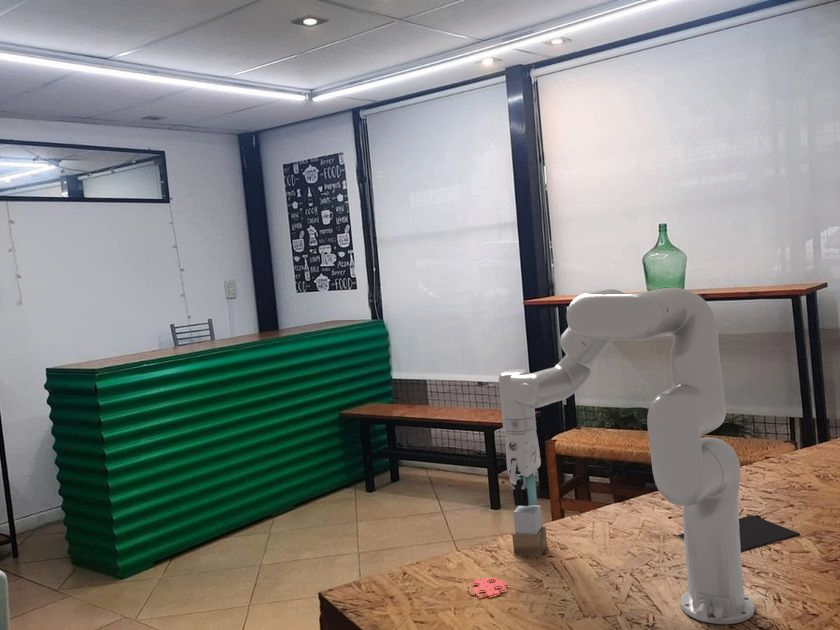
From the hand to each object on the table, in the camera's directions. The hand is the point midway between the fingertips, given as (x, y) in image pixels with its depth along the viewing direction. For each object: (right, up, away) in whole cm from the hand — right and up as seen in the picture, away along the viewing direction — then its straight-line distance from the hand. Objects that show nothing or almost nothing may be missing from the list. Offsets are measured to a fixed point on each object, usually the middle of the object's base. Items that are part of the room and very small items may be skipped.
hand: (526, 500), depth 166 cm
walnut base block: (+1, -12, +1) cm, 12 cm away
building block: (-10, -15, -16) cm, 24 cm away
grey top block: (+1, -7, 0) cm, 7 cm away
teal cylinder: (0, 0, 0) cm, 1 cm away
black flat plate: (+48, -8, -2) cm, 48 cm away
